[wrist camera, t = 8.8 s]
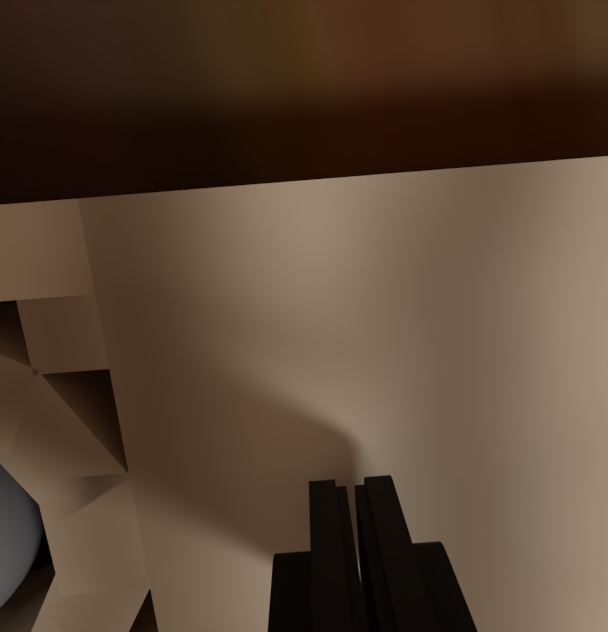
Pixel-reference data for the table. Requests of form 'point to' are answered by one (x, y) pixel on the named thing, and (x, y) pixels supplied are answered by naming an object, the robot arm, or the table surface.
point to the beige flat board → (309, 389)
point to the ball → (17, 533)
